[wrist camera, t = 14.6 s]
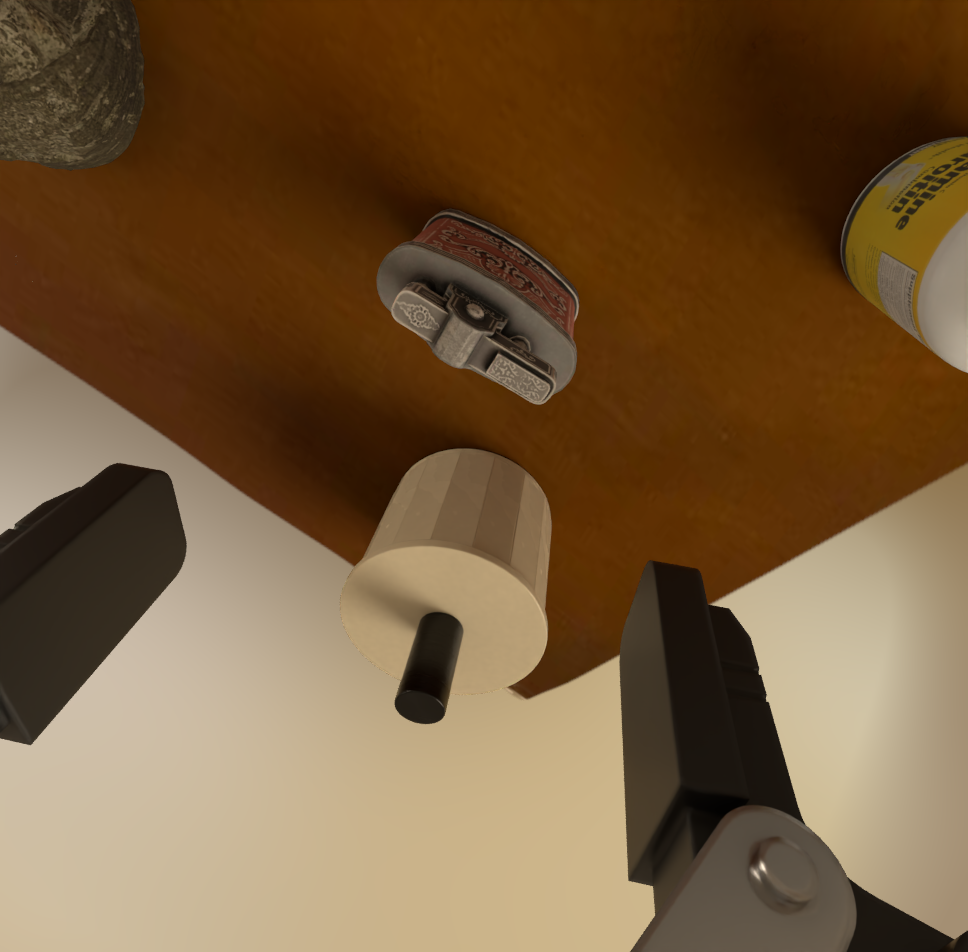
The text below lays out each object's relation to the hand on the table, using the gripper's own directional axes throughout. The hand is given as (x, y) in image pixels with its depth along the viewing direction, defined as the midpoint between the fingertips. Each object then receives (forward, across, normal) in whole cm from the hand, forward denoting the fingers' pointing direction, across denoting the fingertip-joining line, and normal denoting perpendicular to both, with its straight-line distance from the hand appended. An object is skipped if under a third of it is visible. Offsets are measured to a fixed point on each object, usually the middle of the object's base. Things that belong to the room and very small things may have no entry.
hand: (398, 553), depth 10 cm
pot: (+21, +1, +16) cm, 26 cm away
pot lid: (+12, +1, +15) cm, 20 cm away
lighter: (+21, +1, +1) cm, 21 cm away
